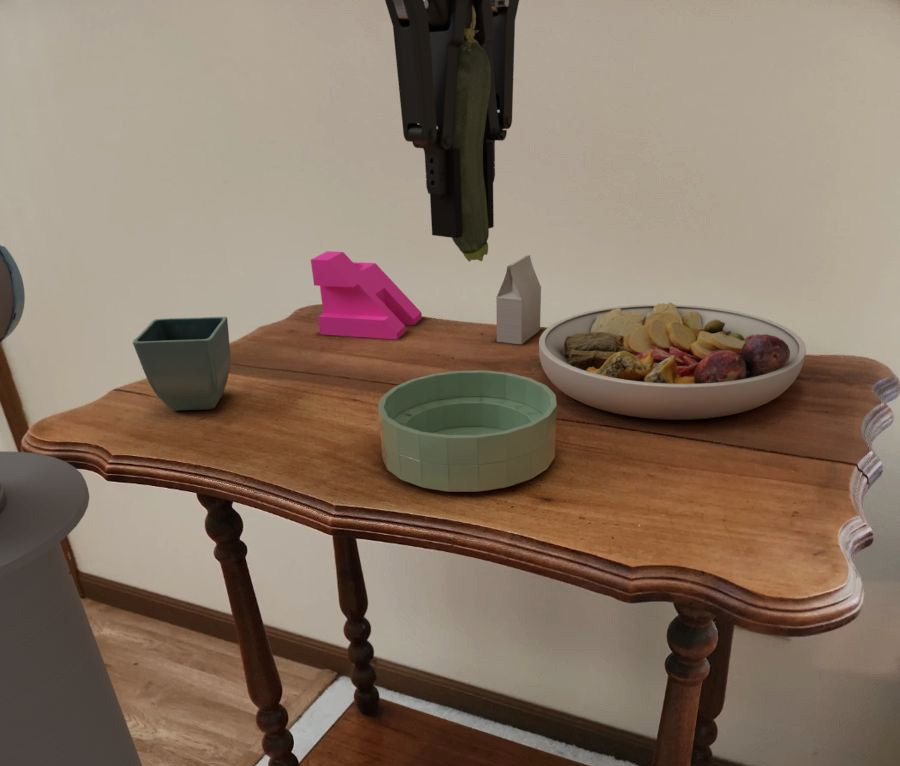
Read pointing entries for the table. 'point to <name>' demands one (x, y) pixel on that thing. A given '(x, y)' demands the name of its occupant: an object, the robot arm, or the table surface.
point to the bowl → (671, 360)
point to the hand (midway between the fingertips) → (463, 230)
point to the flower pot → (186, 360)
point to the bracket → (360, 299)
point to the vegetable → (472, 142)
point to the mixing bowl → (468, 430)
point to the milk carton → (518, 303)
